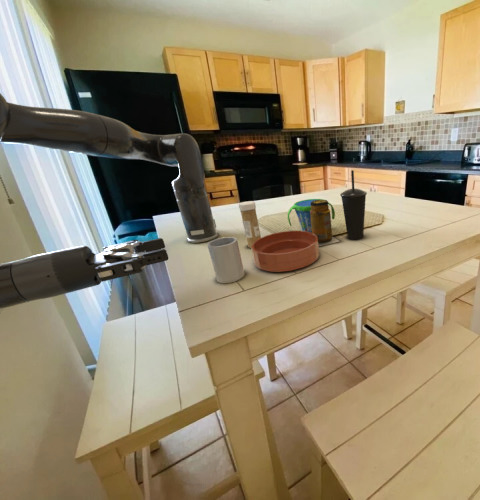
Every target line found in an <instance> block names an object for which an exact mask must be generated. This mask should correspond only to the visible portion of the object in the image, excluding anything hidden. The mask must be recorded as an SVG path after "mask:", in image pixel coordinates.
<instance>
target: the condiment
mask: <svg viewBox="0 0 480 500" xmlns="http://www.w3.org/2000/svg"><path fill="white" fill-rule="evenodd" d="M328 202H329V200H327V199H323V200H314V201H312V202H311V211H310V217H311V227H312V233H314V234H315V235H316V236H317V237H318V245H319V247H322V246H327V245H332V244H335V243H339V242H340V240H339V239H338V238H336V237H334V236H332V235H333V230H332V227H333V226H332V220H331V219H332V214H331V210H330V205H329V204H328Z"/></svg>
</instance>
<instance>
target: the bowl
mask: <svg viewBox="0 0 480 500" xmlns="http://www.w3.org/2000/svg"><path fill="white" fill-rule="evenodd" d="M250 249H251V252H252V258H253V262H254V265H255V267H257V268H258V269H259V270H263V271H266V272H275V273H280V272H281V273H282V272H292V271H295V270H299V269H302V268H305V267H307V266H310V265H311V264H313V263H314V262H315V261H317V260H318V259H319V257H320V246H319V245H318V237H317V236H316V235H315V234H314V233H311V232H307V231H302V230H286V231H285V230H284V231H279V232H278V231H277V232H273V233H269V234H267V235H264V236H261V238H259V239H258V240H256V241H255V242H253V244H252V246H251V248H250Z"/></svg>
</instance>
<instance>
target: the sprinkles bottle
mask: <svg viewBox="0 0 480 500" xmlns="http://www.w3.org/2000/svg"><path fill="white" fill-rule="evenodd" d="M238 208H239V211H240V214H241V219H242V220H241V221H242V225H243V230H244V235H245V239H246V243H247V247H248V248H250V249H252V248H251V246H252V244H253V242H255V241H256V240H258V239H259V238H262V236H261V230H260V225H259V220H258V216H257V210H256V209H257V207H256V202H255V201H253V200H248V201H241V202H240V203H238Z"/></svg>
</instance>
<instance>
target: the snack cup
mask: <svg viewBox="0 0 480 500" xmlns="http://www.w3.org/2000/svg"><path fill="white" fill-rule="evenodd" d="M314 200H324V199H322V198H307V199H303V200H299V201H296V202H294V203H293V205H292V206H291V207H290V208H289V209H288V211H287V222H288V224H289V226H290V227H292V223H291V219H290V214H291V213H292V211H295V214H296V216H297V218H298V223H299V225H300V229H301V230H300V231H307V232H311V233H312V227H311V217H310V211H311V202H312V201H314ZM328 206H329V207H330V208H331V210H330V211H331V219H332V220H335V218H336V212H335V208H334V206H333V204H331V203H330V202H329V201H328Z"/></svg>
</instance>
